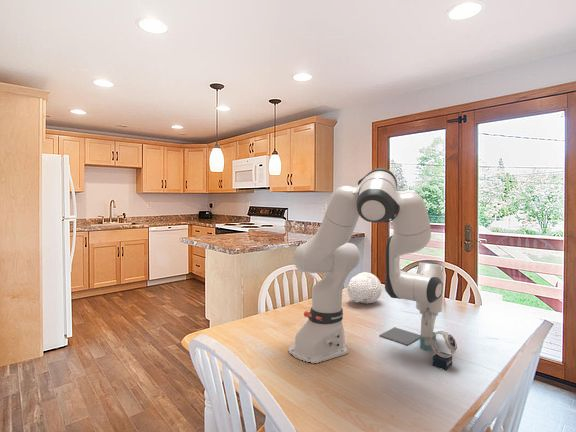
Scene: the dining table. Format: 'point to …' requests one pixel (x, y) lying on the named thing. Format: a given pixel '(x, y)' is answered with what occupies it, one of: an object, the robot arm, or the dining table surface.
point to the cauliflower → (364, 288)
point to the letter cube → (422, 343)
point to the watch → (443, 358)
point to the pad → (400, 336)
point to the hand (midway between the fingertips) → (428, 341)
